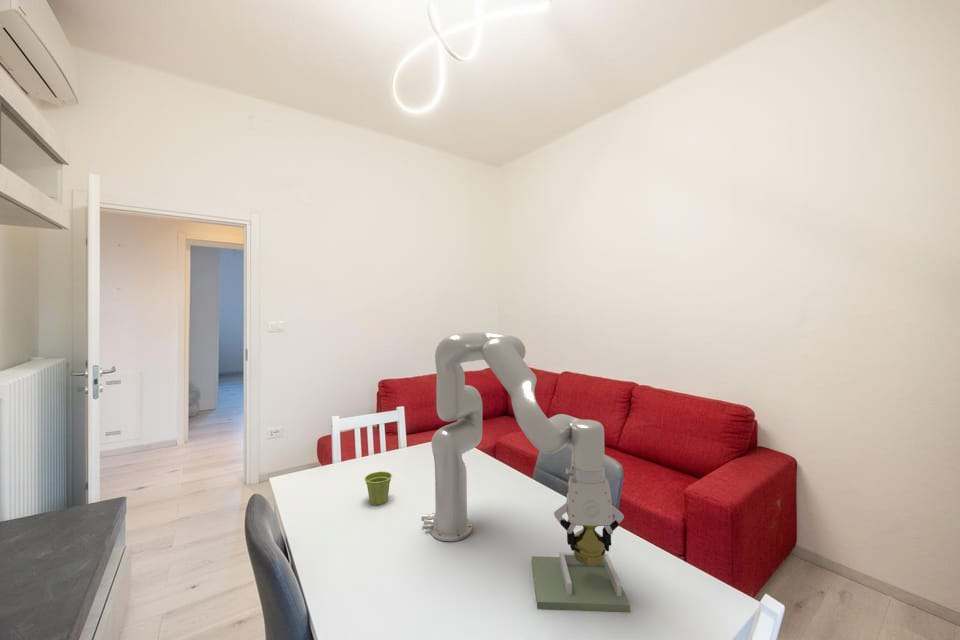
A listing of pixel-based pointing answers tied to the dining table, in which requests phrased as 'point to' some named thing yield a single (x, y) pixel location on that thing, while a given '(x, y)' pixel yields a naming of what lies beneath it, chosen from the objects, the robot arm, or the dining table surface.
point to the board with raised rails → (577, 585)
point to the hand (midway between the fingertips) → (588, 547)
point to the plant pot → (378, 487)
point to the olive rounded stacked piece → (589, 546)
